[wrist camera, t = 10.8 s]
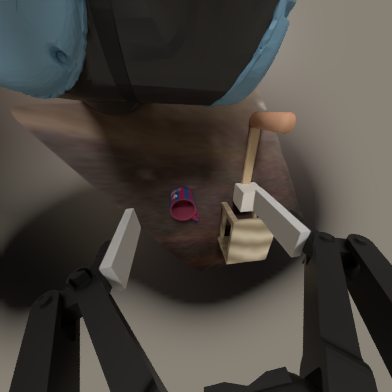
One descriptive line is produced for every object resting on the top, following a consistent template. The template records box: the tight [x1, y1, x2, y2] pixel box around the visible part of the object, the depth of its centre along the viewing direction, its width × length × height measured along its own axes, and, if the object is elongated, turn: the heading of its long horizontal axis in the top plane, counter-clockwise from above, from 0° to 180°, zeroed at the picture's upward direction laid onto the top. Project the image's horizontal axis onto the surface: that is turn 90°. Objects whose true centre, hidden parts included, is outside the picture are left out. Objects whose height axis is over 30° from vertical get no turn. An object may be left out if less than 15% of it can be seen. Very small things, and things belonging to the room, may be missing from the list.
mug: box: [170, 187, 200, 221], centre depth 41 cm, size 7×10×7 cm
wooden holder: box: [218, 202, 274, 264], centre depth 46 cm, size 16×13×10 cm
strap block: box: [233, 112, 296, 212], centre depth 36 cm, size 24×6×11 cm, turn 0°
